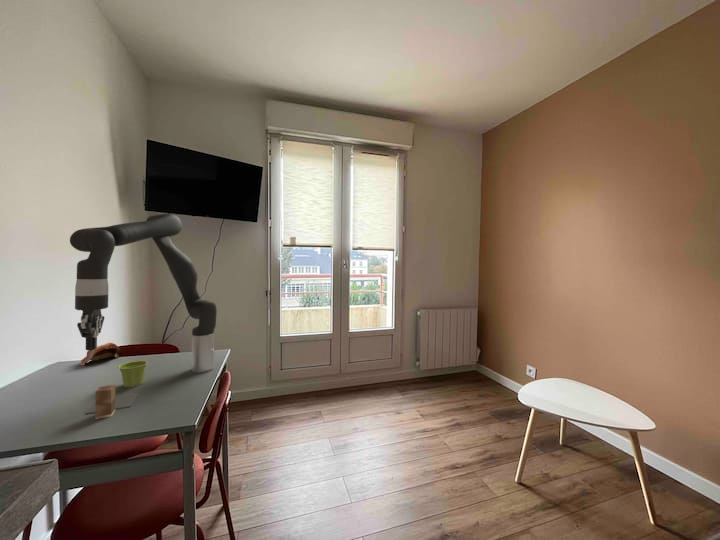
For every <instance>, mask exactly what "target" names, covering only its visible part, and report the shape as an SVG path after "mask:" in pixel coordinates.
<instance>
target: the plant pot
mask: <svg viewBox="0 0 720 540" xmlns="http://www.w3.org/2000/svg"><path fill="white" fill-rule="evenodd" d="M147 364H148V361H146V360H135V361H128V362H125V363H122V364H120V365H119V366H118V369H119V371H120V372H121V377H122V381H123V382H122V383H123V387H124V388H135V387H139V386H140V385H142V384H143V382H144V376H145V371H146V367H147Z"/></svg>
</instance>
